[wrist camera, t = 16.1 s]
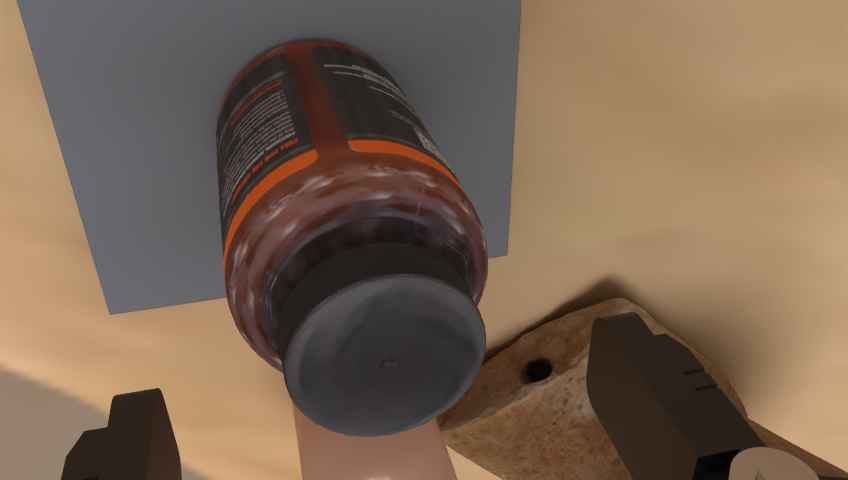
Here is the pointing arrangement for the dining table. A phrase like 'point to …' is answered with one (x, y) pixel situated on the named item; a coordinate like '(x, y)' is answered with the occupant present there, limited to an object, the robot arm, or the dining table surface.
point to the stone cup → (560, 407)
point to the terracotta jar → (372, 454)
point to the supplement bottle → (347, 241)
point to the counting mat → (201, 100)
